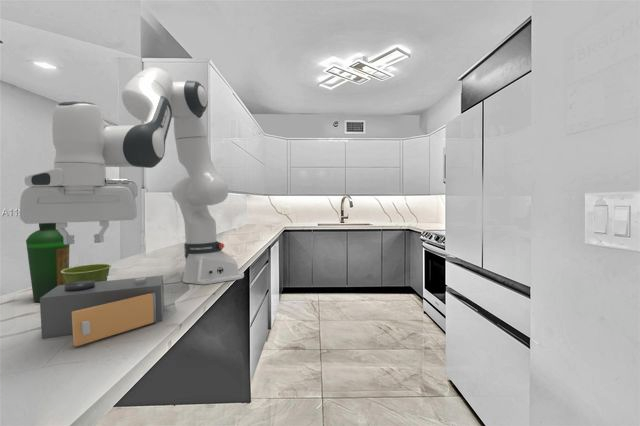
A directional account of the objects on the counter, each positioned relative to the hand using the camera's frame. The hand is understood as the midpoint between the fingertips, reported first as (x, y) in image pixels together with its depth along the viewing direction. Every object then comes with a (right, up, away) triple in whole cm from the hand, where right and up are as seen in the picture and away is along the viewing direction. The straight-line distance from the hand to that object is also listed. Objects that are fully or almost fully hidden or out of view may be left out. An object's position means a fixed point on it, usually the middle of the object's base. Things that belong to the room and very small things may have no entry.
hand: (84, 243), depth 71 cm
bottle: (-34, -21, +33) cm, 51 cm away
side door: (+6, -20, +3) cm, 21 cm away
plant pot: (-16, -21, +24) cm, 35 cm away
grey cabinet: (-2, -21, +12) cm, 24 cm away
